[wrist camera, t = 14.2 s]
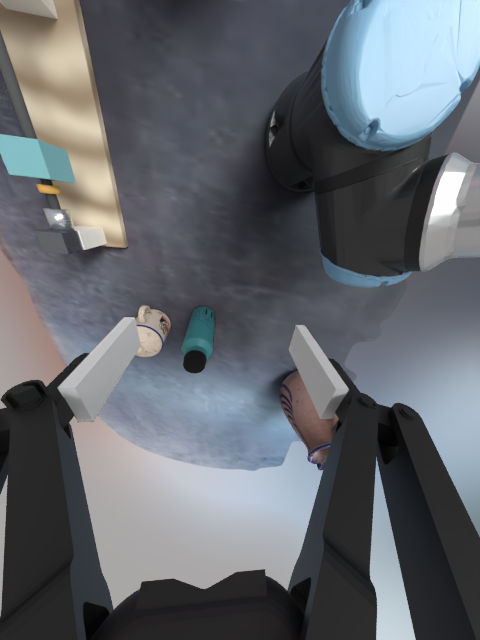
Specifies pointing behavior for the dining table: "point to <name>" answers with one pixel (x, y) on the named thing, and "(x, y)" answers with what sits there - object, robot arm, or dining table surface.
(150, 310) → the teacup with lid
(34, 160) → the sleeve
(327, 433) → the ceramic pitcher
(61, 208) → the cord jig
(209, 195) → the dining table surface
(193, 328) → the beverage bottle
